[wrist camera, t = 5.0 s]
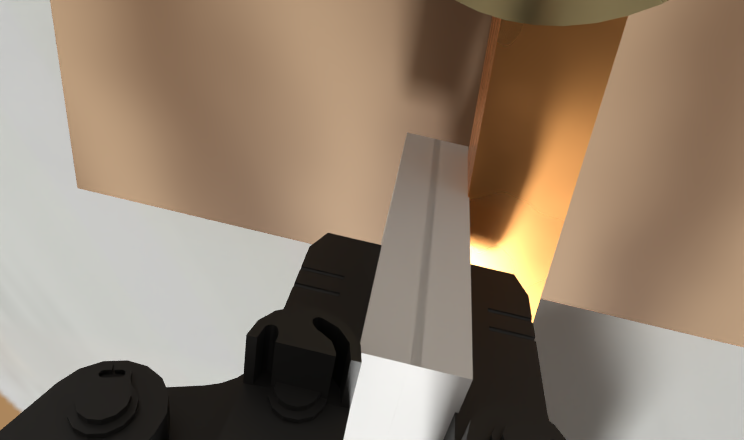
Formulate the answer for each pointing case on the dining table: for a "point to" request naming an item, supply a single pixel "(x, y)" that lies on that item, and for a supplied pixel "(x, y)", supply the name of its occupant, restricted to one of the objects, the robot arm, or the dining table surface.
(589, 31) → the capstan
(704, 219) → the wooden cutting board
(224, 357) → the dining table surface
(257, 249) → the dining table surface
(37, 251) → the dining table surface
